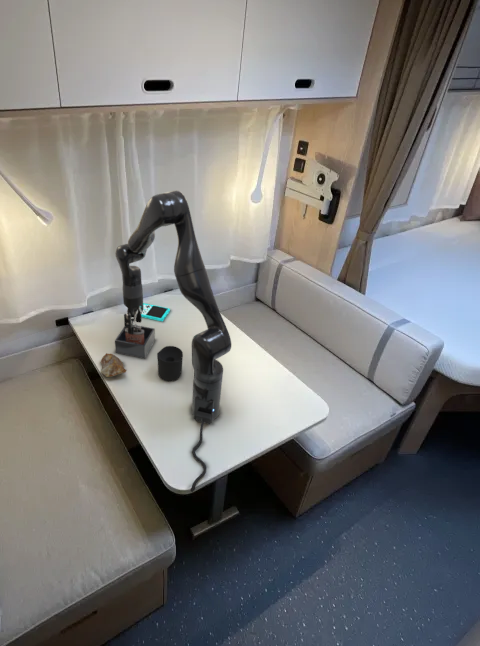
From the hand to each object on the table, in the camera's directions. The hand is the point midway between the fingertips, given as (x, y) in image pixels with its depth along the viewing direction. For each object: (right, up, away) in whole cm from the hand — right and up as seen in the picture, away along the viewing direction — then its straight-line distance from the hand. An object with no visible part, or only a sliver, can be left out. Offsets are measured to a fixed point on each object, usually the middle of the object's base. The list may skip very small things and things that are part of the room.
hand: (135, 327), depth 160 cm
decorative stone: (-8, -16, -7) cm, 19 cm away
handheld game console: (+5, +6, +27) cm, 28 cm away
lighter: (0, -7, +5) cm, 9 cm away
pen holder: (+14, -17, -9) cm, 24 cm away
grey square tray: (0, -8, +5) cm, 10 cm away
